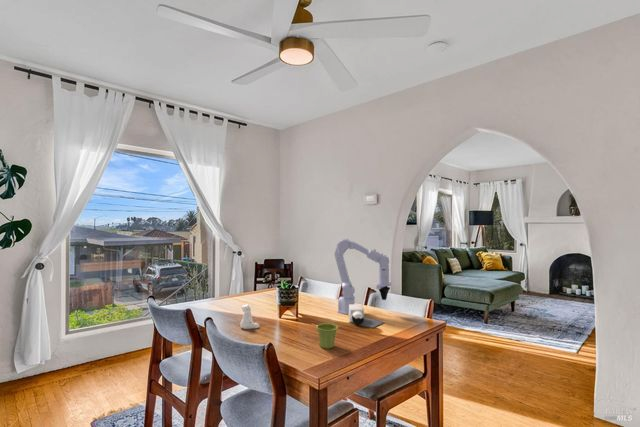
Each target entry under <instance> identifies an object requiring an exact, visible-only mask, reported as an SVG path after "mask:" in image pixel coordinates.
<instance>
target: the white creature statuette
mask: <svg viewBox="0 0 640 427" xmlns="http://www.w3.org/2000/svg"><path fill="white" fill-rule="evenodd" d="M241 310H242V312H243V315H242V318H241V321H240V324H239V325H240V328H242V329H243V330H252V329H253V330H254V329H259V328H260V323H258V322H254V321H253V316H252V308H251V306H250V305H249V304H247V303H246V304H244V305H241Z"/></svg>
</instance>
